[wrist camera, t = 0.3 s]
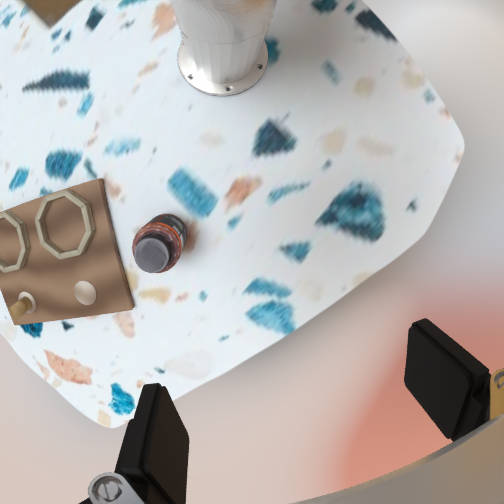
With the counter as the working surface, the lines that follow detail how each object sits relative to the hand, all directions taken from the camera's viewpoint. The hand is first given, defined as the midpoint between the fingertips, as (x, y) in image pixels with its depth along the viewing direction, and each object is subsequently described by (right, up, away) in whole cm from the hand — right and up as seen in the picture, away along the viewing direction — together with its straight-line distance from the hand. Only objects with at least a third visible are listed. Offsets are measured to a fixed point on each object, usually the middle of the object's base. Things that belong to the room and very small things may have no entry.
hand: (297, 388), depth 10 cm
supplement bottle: (-14, +8, +33) cm, 36 cm away
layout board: (-34, +4, +32) cm, 47 cm away
